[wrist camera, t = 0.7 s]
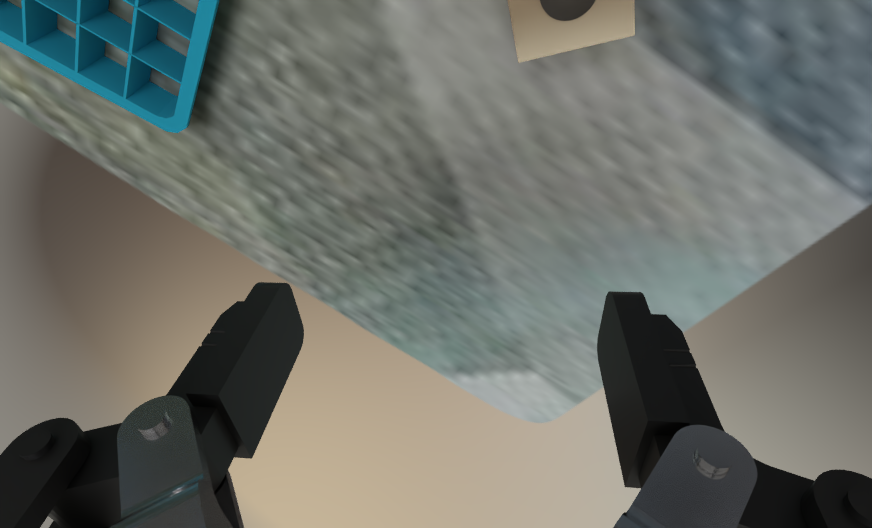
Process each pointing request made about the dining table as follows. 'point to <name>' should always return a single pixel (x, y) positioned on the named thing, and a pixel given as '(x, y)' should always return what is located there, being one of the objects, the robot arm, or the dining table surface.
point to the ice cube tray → (105, 77)
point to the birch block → (567, 25)
